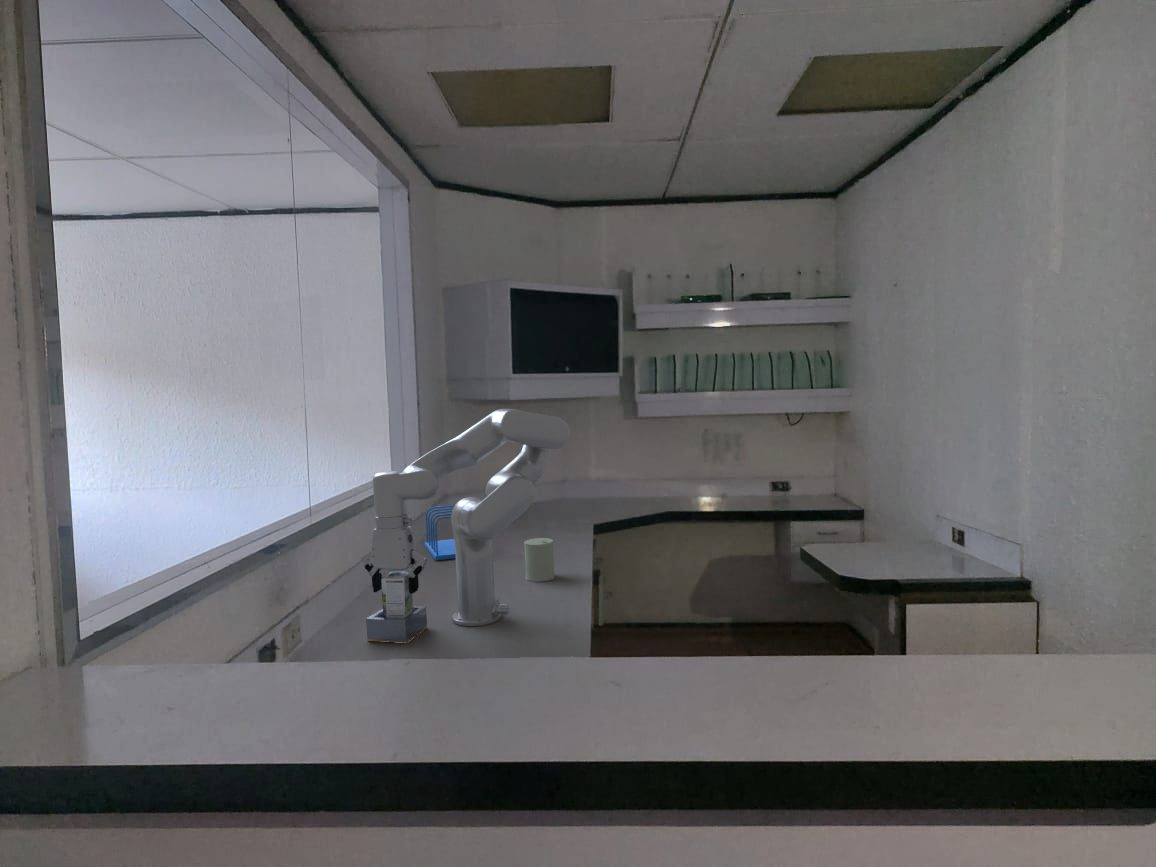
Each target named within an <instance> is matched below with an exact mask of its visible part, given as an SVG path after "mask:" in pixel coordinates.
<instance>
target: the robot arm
mask: <svg viewBox="0 0 1156 867" xmlns="http://www.w3.org/2000/svg"><path fill="white" fill-rule="evenodd" d="M570 436H571V430H570V427H569V425H568V423H567V421H565V420H564V419H562V418H560V417H558V416H554V415H553V416H552V415H548V414H542V413H536V412H530V411H525V410H520V409H518V408H517V409H516V408H499V409H496V410H494V411H493V412H491V413H490V414H487V415H486V416H485V417H484V418H482V419H481V420H479V421H477V423H475V424H473V425H472V426H470V428H468V429H466V430H464V431H463V432H462V433H460V434H459V435H457V436H456V437H454V438H452V439H450V440H448V441H447V442H445V443H443V444H441V445H440V446H437V447H436V448H434V449H432V450H430V451H428V452H427V453H425V454H424V455H422V456H420V458H418V459H416V460H415V461H414V462H412V463H411V464H410V465H408V466H406V467H405V468H404V469H403V471H399V470H385V471H379V472H377V473H375V474H374V475H373V477H372V487H373V488H372V490H373V502H374V503H373V506H374V520H375V524H374V525H375V528H373V532H372V537H371V538H372V539H371V551H370V552H368V553H367V554H365V555H363V556H362V557H361V558H360V560H361V562H362V565H363V566H364V569H365V570H366V572H368V574H369V576H370V577H371V584H372V585H371V586H372V589H373V590H372V591H373V593H377V592H379V591H382V578H383V575H382V572H381V570H392V571H393V570H394V571H395V570H396V571H405V572H407V573H408V574H409V575H410V578H409V579H408V582H409V593H410V594H412V595H413V594H414V593H416V592H417V591H419V586H420V585H419V575H420V574H421V572H422V571H423V570H424V569H425V567H426V564H427V562H428V558H427V557H426V556H424V555H422V554H420V553H419V552H417V547H416V542H415V541H416V539H415V535H414V532H413V529H412V526H411V525H409V524H412V523H413V518H412V517H409V516H408V515H409V514H408V508H407V506H408V505H407V500H409V501H410V500H411V501H412V500H415V501H418V500H419V501H420V500H421V501H422V500H429V499H431V498H433V497H434V496H435V495H437V494H438V492H439V490H440V488H441V482H440V479H441V478H443V477H444V476H446V475H448V474H450V473H451V472H454V471H457V470H461V469H465V468H466V469H467V468H470V467H472V466H475V465H477V464H478V463H480V462H481V461H482V460H484V459H486V458H487V457H488V456H489V455H491V454H492V453H494V452H495V451H496V450H498V449H499V448H500V447H503V445H505V444H506V443H514V444H518V445H519V444H520V445H522V448H521V451H520V452H519V454H518V455H517V456H516V457H514V458H513V459H512V460H511V461H510V462H509V463H508V464H507V465H505V466H504V467H502V468H501V470H499V471H498V472H497V473H496V474H494V475H493V476H491V478H490V479H489V480H488V482H487V483H486V486H485V495H486V497H485V498H483V499H482V498H479V497H475V496H467V497H464V498H461V499H460V500H459V501H457V502H456V503H455V504H454V505H455V506H454V507H452V508H453V509H452V512H451V513H452V515H450V516H451V518H450V523H451V528H452V535H453V539H454V542H455V554H456V558H455V572H456V575H455V576H456V591H457V592H456V593H457V609H458V610H456V611H455V612H454V613H453V614H452V621H453V623H454V624H456V625H459V626H464V627H478V626H485V625H490V624H493V623H495V622H497V621H499V620H501V618H502V615H509V614H510V613H511V612H510V611H511V610H510V609H511V608H510V606H509V604H507V603H506V604H503V603H502V604H501V603H499V598H496V597H495V596H496V592H495V578H494V577H495V575H494V549H493V542H492V540H493V539H494V538H496V537H497V536H499V535H500V534H502V533H503V532H504V531H505V530H506V529H508V527H510V526H511V525H512V524H513V523H514V522H516V520H518V519H519V517H521V516H522V515H523V514H524V513H525V512H526V511H527V510H528V509H529V508H530V506H531V505H532V503H533V501H534V499H535V493H536V492H535V491H536V489H535V487H534V485H535V484H536V482H538V481H539V480H540V479H541V478H542V477H543V476H544V474H545V473H546V472H547V469H548V467H549V464H550V459H551V454H552V450H559V449H561V448H563V447H564V446H566V445H567V443H568V442H569V439H570ZM370 559H371V560H370ZM417 563H418V565H417V566H416V564H417Z"/></svg>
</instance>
